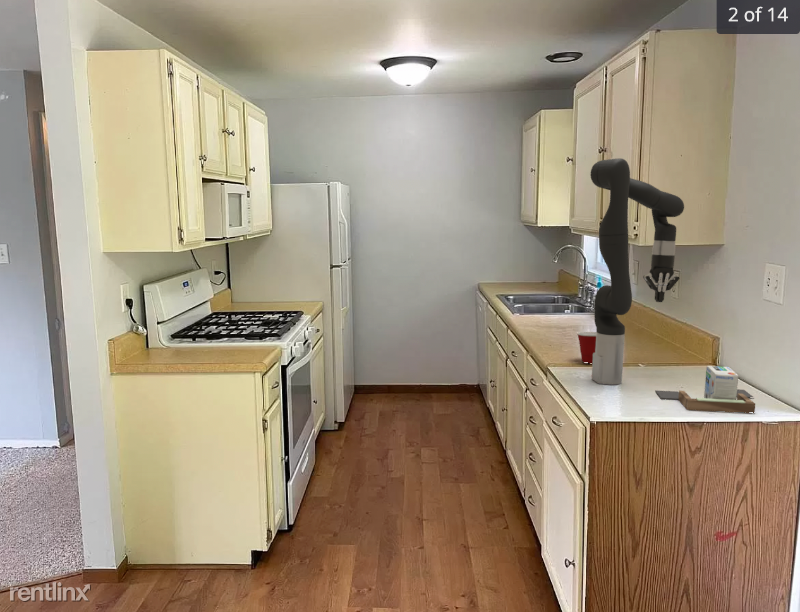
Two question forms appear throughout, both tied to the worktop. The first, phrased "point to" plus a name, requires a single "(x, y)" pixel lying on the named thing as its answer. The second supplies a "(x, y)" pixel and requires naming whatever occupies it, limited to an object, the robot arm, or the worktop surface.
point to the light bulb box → (720, 383)
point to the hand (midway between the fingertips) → (659, 301)
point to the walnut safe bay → (717, 403)
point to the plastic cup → (587, 345)
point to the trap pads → (675, 394)
